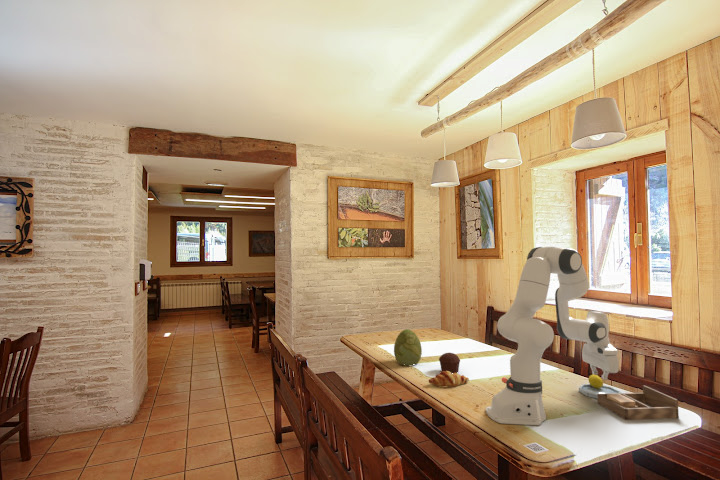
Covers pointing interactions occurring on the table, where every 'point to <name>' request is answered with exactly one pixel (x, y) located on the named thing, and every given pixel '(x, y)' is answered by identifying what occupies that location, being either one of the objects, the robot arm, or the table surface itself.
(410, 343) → the decorative sculpture
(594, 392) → the plate
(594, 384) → the lemon
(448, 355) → the muffin
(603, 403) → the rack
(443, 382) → the croissant
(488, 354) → the table surface
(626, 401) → the block
